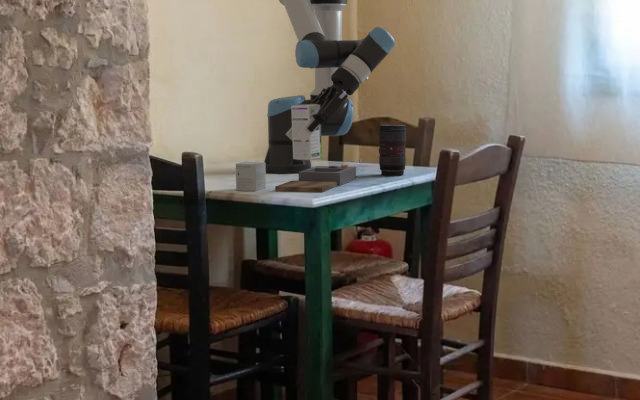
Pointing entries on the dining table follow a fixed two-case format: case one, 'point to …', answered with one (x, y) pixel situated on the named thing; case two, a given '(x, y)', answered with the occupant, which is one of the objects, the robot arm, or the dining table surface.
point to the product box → (250, 176)
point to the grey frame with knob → (329, 174)
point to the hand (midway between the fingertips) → (294, 138)
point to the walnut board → (306, 186)
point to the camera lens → (392, 149)
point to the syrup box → (313, 143)
